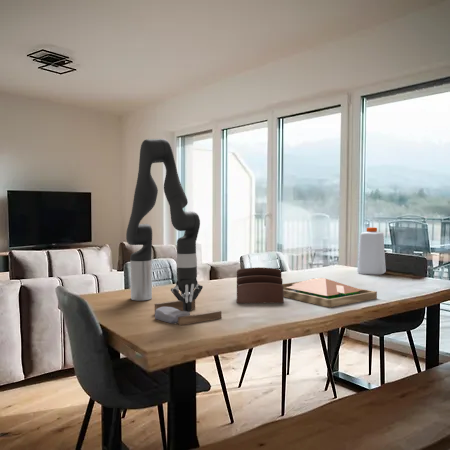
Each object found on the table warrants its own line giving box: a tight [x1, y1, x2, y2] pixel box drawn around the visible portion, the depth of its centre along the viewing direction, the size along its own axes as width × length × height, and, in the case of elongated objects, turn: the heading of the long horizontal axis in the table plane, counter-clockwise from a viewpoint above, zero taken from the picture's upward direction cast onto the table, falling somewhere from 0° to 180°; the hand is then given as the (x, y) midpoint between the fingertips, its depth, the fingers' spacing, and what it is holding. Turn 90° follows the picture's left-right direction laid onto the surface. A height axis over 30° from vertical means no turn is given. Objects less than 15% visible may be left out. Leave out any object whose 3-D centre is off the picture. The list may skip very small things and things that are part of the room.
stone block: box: [154, 307, 191, 325], centre depth 160 cm, size 12×5×10 cm
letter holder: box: [236, 267, 285, 304], centre depth 191 cm, size 10×20×14 cm, turn 88°
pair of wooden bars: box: [154, 299, 222, 326], centre depth 164 cm, size 20×17×4 cm
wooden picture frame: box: [282, 280, 378, 308], centre depth 203 cm, size 40×30×3 cm
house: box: [286, 277, 362, 299], centre depth 204 cm, size 23×33×8 cm
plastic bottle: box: [356, 226, 387, 276], centre depth 271 cm, size 15×15×28 cm
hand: (187, 312), depth 164 cm, fingers closed
